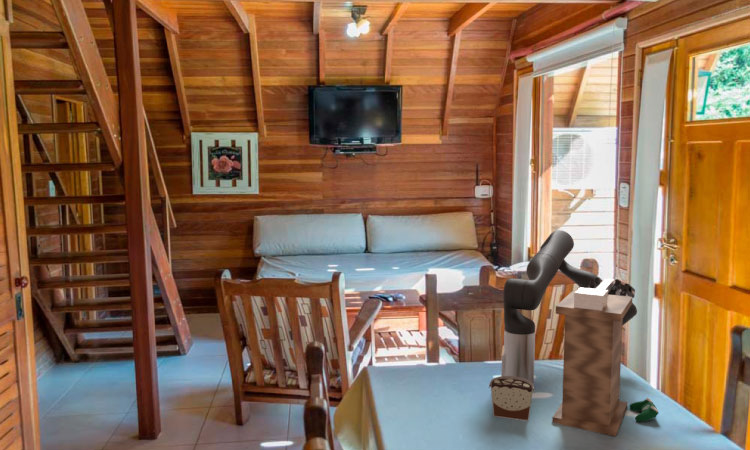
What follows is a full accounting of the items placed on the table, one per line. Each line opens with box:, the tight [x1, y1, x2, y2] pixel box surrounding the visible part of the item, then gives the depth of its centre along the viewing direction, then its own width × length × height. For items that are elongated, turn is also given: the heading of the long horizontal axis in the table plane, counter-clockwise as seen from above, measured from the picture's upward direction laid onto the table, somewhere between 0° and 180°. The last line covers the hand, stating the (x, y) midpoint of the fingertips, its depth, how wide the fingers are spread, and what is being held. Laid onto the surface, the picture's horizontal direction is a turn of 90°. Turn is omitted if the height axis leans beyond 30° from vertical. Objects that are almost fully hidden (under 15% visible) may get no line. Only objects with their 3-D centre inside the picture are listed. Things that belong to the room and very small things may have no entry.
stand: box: [551, 290, 633, 437], centre depth 166 cm, size 16×20×32 cm
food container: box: [488, 376, 536, 422], centre depth 168 cm, size 12×6×10 cm, turn 71°
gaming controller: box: [628, 397, 659, 423], centre depth 167 cm, size 9×4×6 cm
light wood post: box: [574, 278, 615, 311], centre depth 169 cm, size 7×32×4 cm, turn 150°
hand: (606, 280), depth 178 cm, fingers open, 4 cm apart
